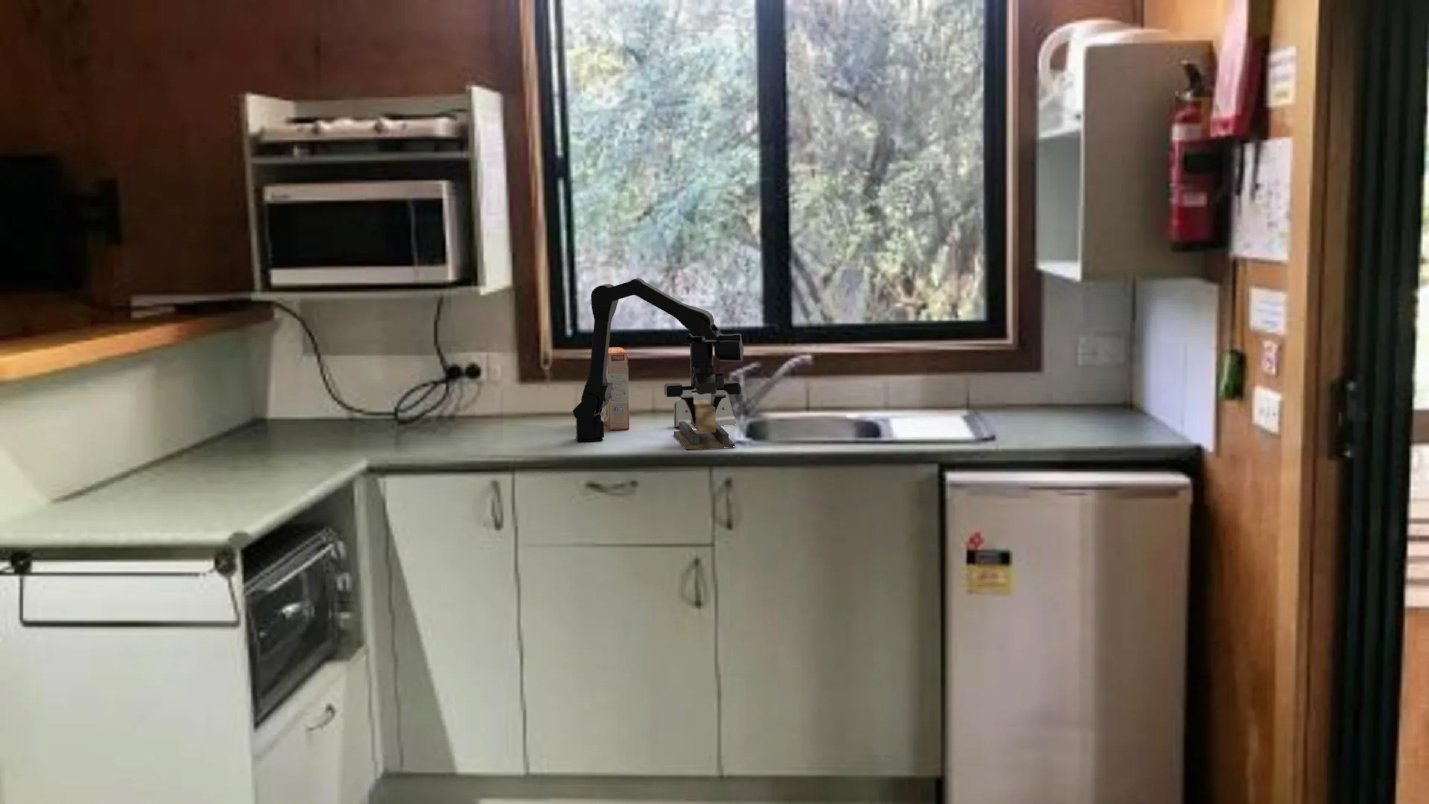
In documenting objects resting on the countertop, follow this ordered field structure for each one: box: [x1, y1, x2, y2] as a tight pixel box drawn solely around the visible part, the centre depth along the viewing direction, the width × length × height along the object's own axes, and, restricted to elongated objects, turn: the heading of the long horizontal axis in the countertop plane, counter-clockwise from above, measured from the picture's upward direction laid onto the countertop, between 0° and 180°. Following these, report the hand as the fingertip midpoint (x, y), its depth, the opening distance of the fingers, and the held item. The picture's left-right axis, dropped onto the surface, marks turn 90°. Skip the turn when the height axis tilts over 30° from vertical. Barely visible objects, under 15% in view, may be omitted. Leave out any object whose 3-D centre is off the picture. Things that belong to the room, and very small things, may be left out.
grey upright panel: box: [673, 393, 737, 428], centre depth 359 cm, size 17×5×10 cm, turn 111°
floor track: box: [673, 421, 736, 450], centre depth 335 cm, size 12×22×4 cm, turn 10°
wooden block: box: [691, 400, 716, 433], centre depth 335 cm, size 4×14×6 cm, turn 10°
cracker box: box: [602, 346, 630, 431], centre depth 359 cm, size 14×6×21 cm, turn 10°
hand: (703, 422), depth 335 cm, fingers closed on wooden block, 4 cm apart
